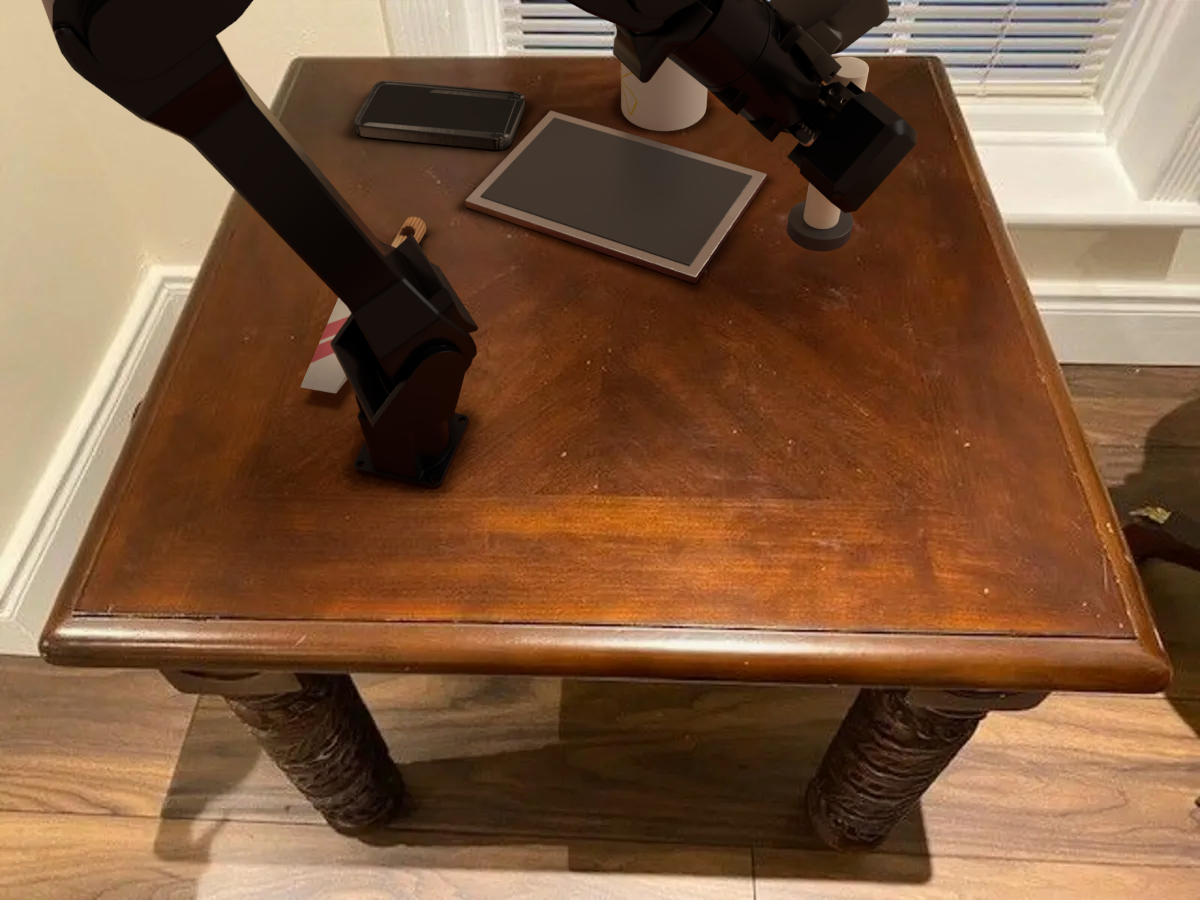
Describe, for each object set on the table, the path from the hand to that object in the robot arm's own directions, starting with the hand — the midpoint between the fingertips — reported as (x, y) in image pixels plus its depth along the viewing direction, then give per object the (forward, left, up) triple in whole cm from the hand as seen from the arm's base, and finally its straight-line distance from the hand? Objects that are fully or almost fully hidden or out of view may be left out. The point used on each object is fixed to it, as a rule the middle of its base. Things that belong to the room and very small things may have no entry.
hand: (849, 146), depth 73 cm
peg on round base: (-1, +1, -7) cm, 7 cm away
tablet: (+7, +19, -13) cm, 24 cm away
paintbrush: (-12, +34, -13) cm, 38 cm away
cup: (+21, +18, -13) cm, 31 cm away
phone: (+14, +38, -13) cm, 42 cm away
